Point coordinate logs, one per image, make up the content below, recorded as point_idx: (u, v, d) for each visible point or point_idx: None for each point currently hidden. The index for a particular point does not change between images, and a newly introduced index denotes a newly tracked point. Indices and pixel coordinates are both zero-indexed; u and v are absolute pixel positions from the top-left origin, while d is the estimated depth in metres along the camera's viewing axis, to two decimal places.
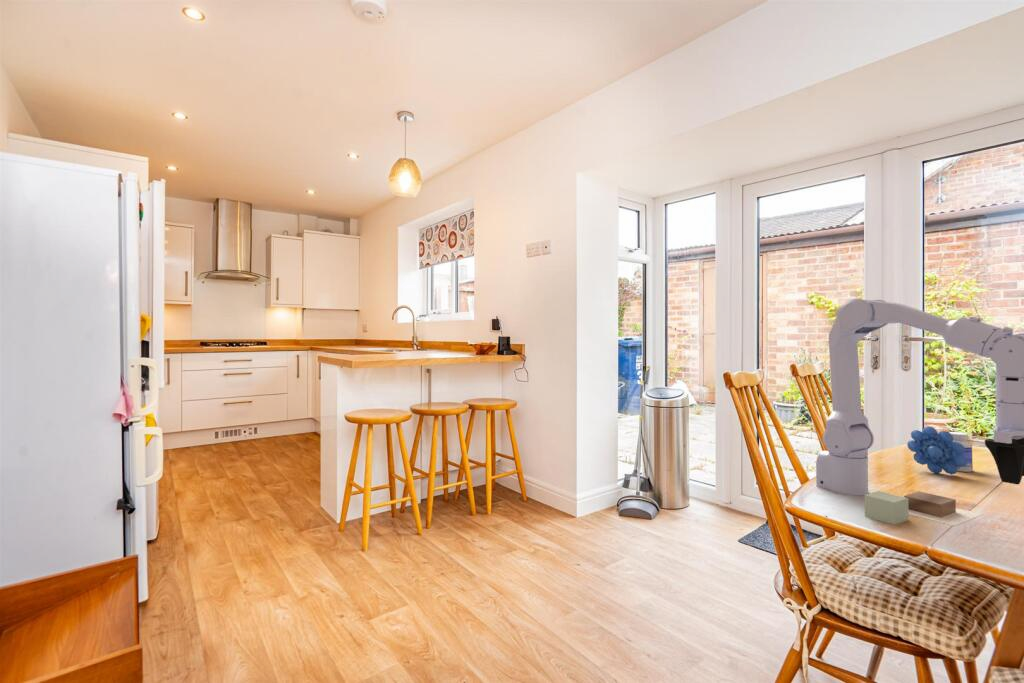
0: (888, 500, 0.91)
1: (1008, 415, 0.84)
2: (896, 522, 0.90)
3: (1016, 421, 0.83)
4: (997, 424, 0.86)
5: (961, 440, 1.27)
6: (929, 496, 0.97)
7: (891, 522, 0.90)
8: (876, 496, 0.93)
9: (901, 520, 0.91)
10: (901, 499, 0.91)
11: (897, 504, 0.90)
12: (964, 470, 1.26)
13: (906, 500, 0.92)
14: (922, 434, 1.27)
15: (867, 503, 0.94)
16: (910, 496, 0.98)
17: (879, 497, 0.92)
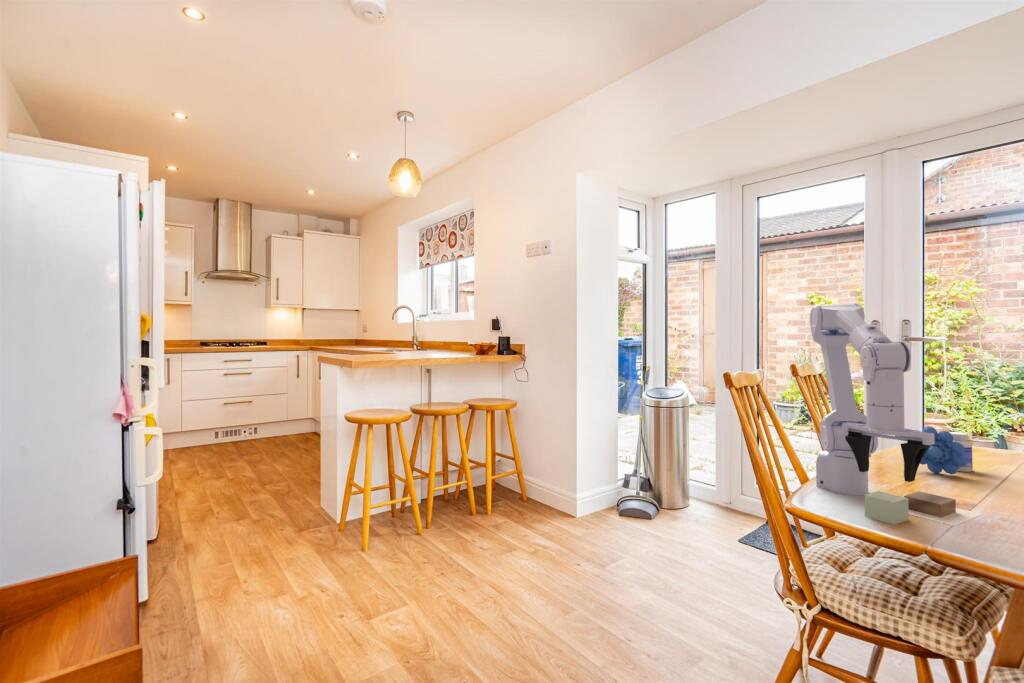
0: (888, 500, 0.91)
1: None
2: (896, 522, 0.90)
3: None
4: None
5: (961, 440, 1.27)
6: (929, 496, 0.97)
7: (891, 522, 0.90)
8: (876, 496, 0.93)
9: (901, 520, 0.91)
10: (901, 499, 0.91)
11: (897, 504, 0.90)
12: (964, 470, 1.26)
13: (906, 500, 0.92)
14: None
15: (867, 503, 0.94)
16: (910, 496, 0.98)
17: (879, 497, 0.92)
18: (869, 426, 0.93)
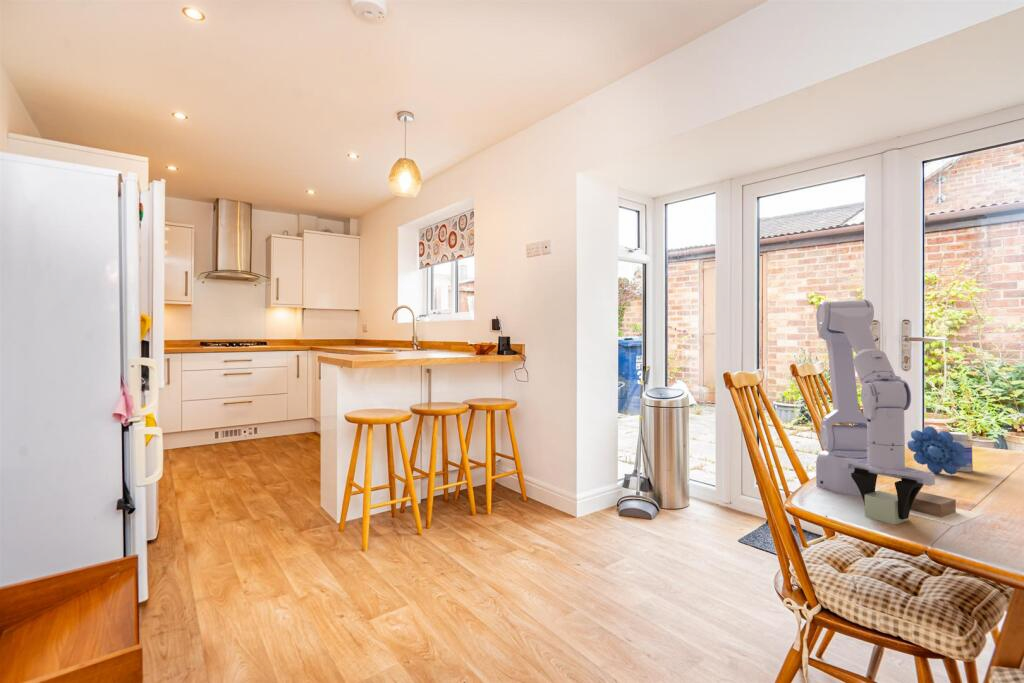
0: (888, 499, 0.91)
1: None
2: (896, 521, 0.90)
3: None
4: None
5: (961, 440, 1.27)
6: (929, 496, 0.97)
7: (891, 521, 0.90)
8: (876, 495, 0.93)
9: (901, 520, 0.91)
10: None
11: (897, 503, 0.90)
12: (964, 470, 1.26)
13: None
14: (922, 434, 1.27)
15: (867, 502, 0.94)
16: None
17: (879, 496, 0.92)
18: (869, 464, 0.93)
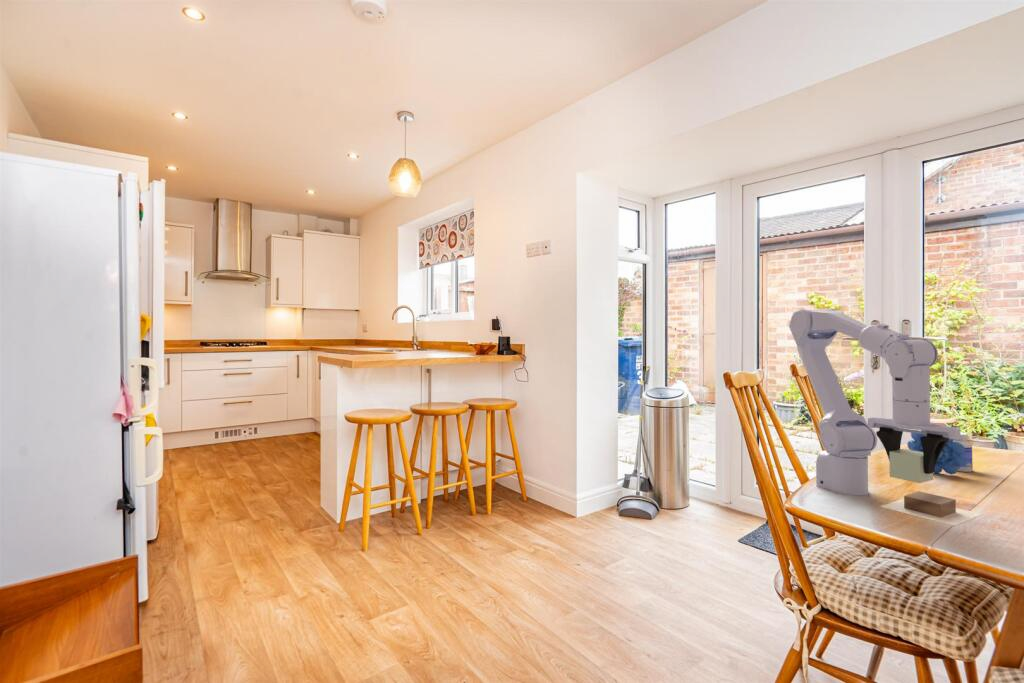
0: (913, 455, 0.93)
1: None
2: (921, 476, 0.92)
3: None
4: None
5: (961, 440, 1.27)
6: (929, 496, 0.97)
7: (916, 476, 0.92)
8: (901, 452, 0.95)
9: (926, 475, 0.93)
10: None
11: (922, 458, 0.92)
12: (964, 470, 1.26)
13: None
14: (922, 434, 1.27)
15: (892, 459, 0.96)
16: (910, 496, 0.98)
17: (904, 453, 0.95)
18: (895, 421, 0.96)
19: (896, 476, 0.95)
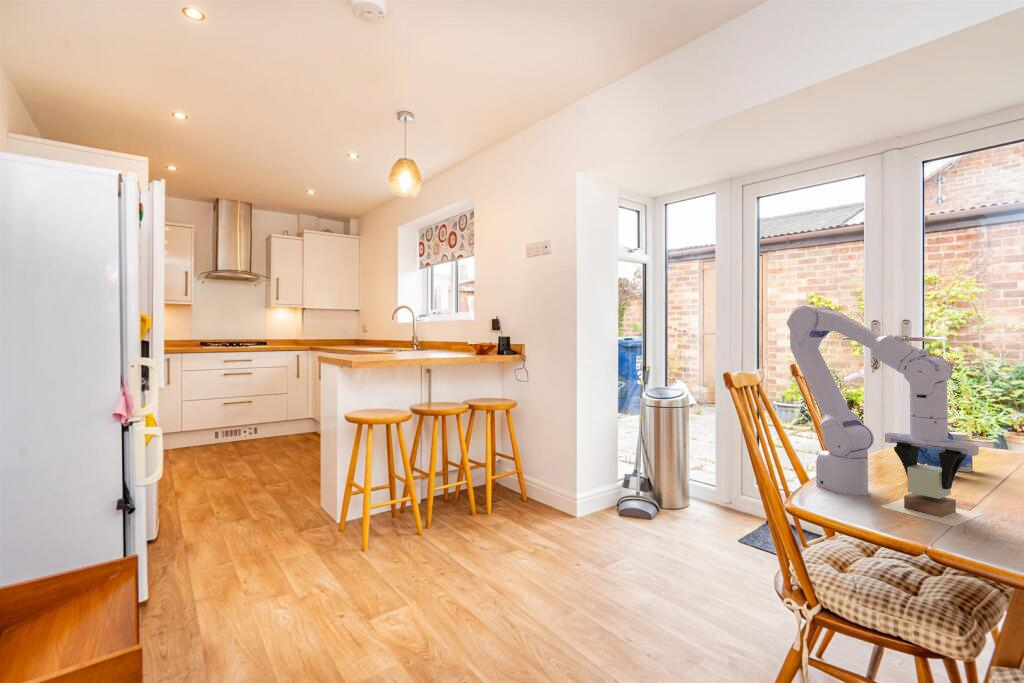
0: (932, 471, 0.94)
1: None
2: (939, 492, 0.93)
3: None
4: None
5: (961, 440, 1.27)
6: None
7: (935, 492, 0.94)
8: (919, 468, 0.97)
9: (944, 490, 0.94)
10: None
11: (941, 474, 0.94)
12: (964, 470, 1.26)
13: None
14: None
15: (910, 475, 0.97)
16: (910, 496, 0.98)
17: (922, 468, 0.96)
18: (913, 437, 0.97)
19: (914, 491, 0.97)
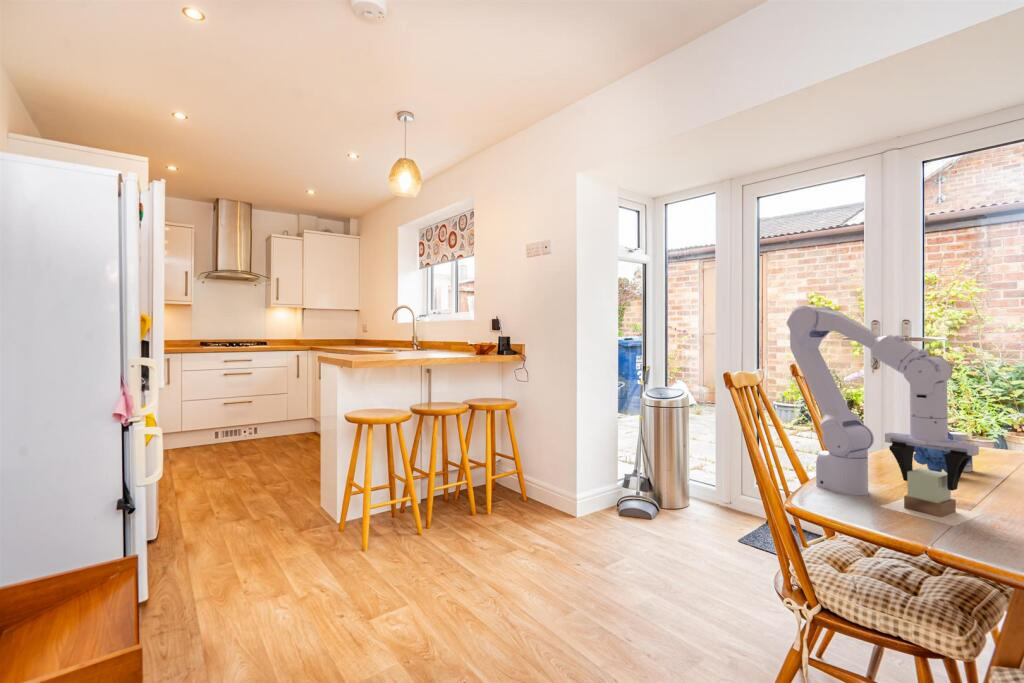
0: (932, 475, 0.94)
1: None
2: (939, 496, 0.94)
3: None
4: None
5: (962, 440, 1.27)
6: None
7: (934, 496, 0.94)
8: (919, 472, 0.97)
9: (944, 495, 0.94)
10: (944, 475, 0.95)
11: (940, 479, 0.94)
12: (964, 470, 1.26)
13: None
14: None
15: (910, 479, 0.97)
16: None
17: (922, 473, 0.96)
18: (913, 437, 0.97)
19: (914, 496, 0.97)
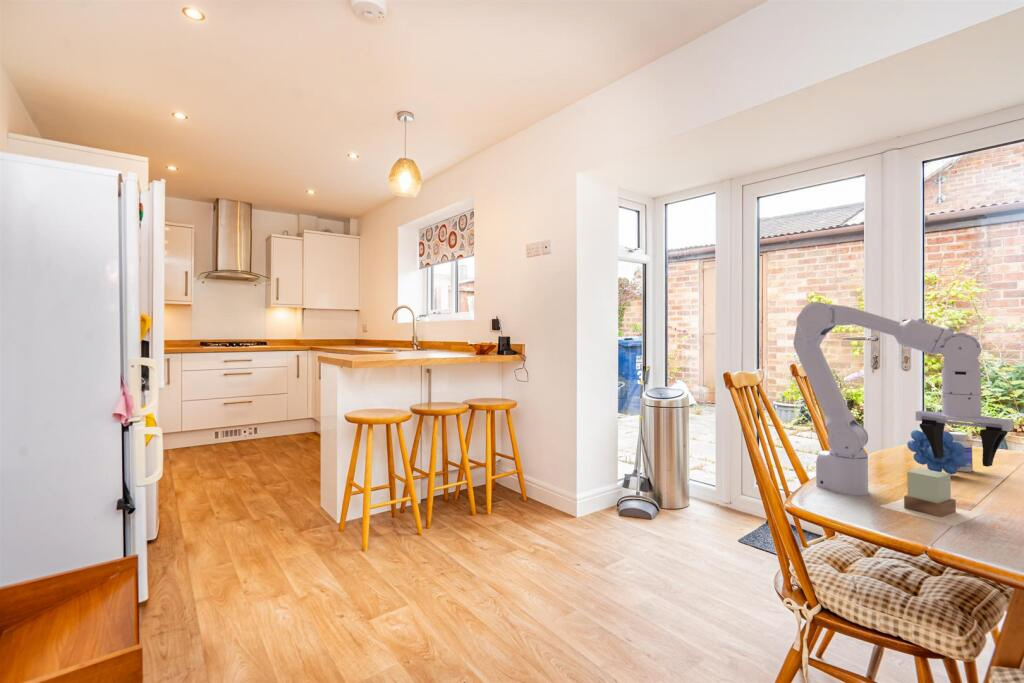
0: (932, 475, 0.94)
1: None
2: (939, 496, 0.94)
3: None
4: None
5: (961, 440, 1.27)
6: None
7: (934, 496, 0.94)
8: (919, 472, 0.97)
9: (944, 495, 0.94)
10: (944, 475, 0.95)
11: (940, 479, 0.94)
12: (964, 470, 1.26)
13: (948, 476, 0.95)
14: (922, 434, 1.27)
15: (910, 479, 0.97)
16: None
17: (922, 473, 0.96)
18: (946, 414, 0.97)
19: (914, 496, 0.97)
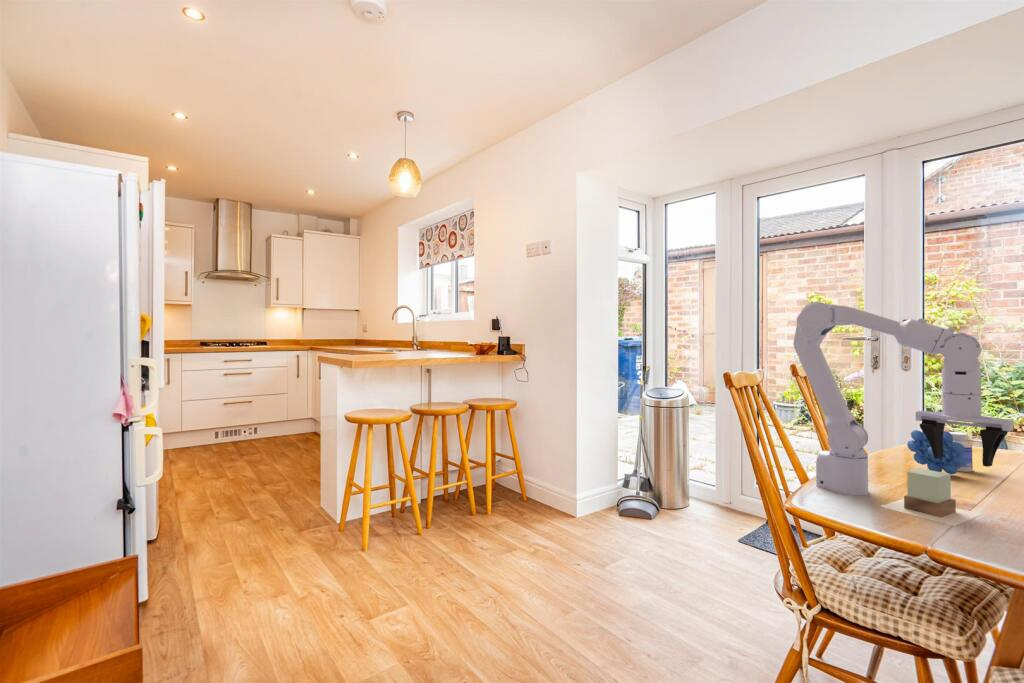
0: (932, 475, 0.94)
1: None
2: (939, 496, 0.94)
3: None
4: None
5: (962, 440, 1.27)
6: None
7: (934, 496, 0.94)
8: (919, 472, 0.97)
9: (944, 495, 0.94)
10: (944, 475, 0.95)
11: (940, 479, 0.94)
12: (964, 470, 1.26)
13: (948, 476, 0.95)
14: (922, 434, 1.27)
15: (910, 479, 0.97)
16: None
17: (922, 473, 0.96)
18: (946, 414, 0.97)
19: (914, 496, 0.97)
